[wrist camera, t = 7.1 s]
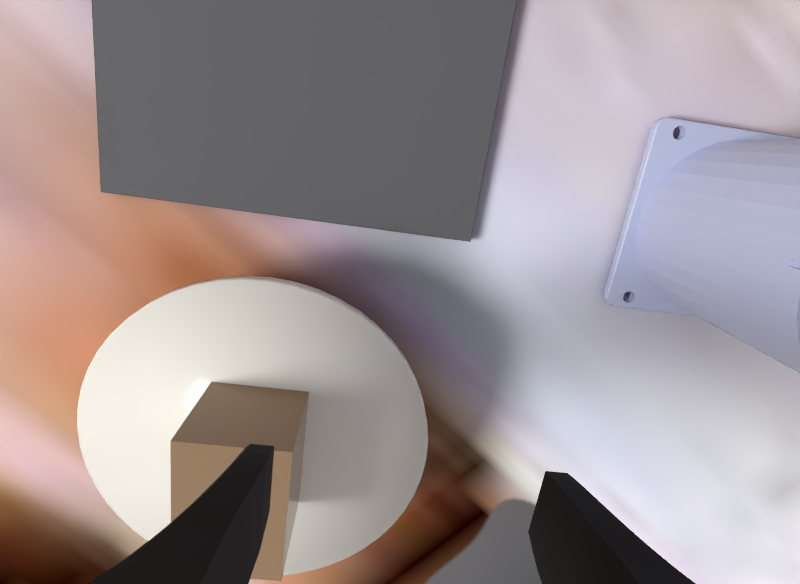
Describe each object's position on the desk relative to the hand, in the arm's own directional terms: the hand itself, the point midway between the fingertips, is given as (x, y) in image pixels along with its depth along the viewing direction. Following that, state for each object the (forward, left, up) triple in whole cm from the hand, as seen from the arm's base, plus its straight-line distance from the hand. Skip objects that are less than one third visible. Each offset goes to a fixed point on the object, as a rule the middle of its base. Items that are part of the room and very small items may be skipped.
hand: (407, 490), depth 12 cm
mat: (+5, -12, -10) cm, 16 cm away
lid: (+5, +3, -6) cm, 8 cm away
